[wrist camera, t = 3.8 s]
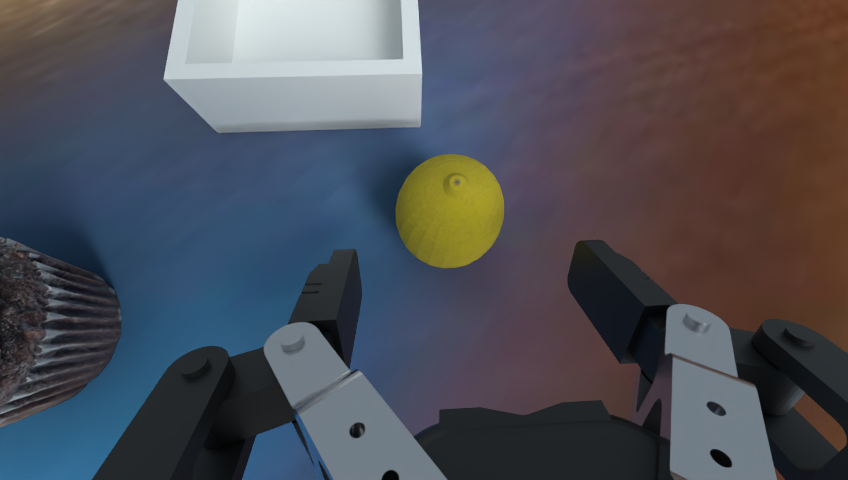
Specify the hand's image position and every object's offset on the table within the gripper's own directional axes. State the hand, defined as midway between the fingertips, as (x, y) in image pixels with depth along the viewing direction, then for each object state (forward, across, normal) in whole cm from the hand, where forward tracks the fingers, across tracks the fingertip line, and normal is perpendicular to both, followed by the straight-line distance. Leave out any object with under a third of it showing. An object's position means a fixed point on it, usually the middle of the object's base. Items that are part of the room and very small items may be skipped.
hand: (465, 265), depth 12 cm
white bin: (+19, +8, -7) cm, 22 cm away
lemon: (+8, 0, +4) cm, 9 cm away
